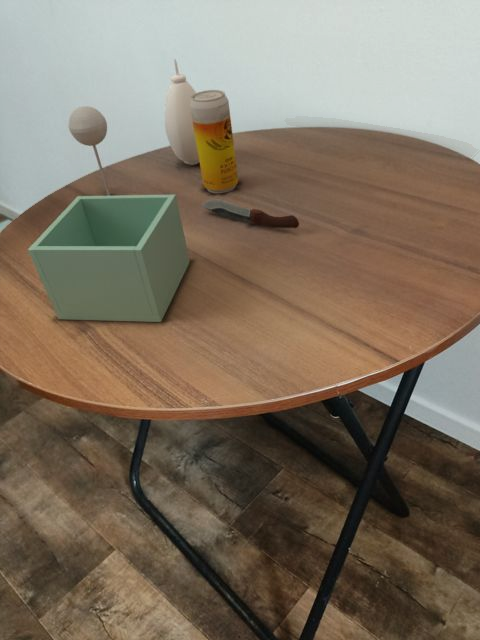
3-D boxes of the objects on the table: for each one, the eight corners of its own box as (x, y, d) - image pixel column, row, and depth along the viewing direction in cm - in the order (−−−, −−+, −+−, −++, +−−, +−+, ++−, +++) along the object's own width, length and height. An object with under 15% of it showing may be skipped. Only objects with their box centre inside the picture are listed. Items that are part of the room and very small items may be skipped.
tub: (58, 319, 65) (27, 249, 59) (99, 261, 75) (77, 195, 69) (161, 322, 63) (140, 249, 56) (190, 261, 73) (175, 194, 66)
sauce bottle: (182, 175, 96) (161, 67, 84) (167, 162, 102) (145, 59, 90) (220, 163, 99) (205, 57, 87) (203, 152, 104) (186, 50, 92)
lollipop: (114, 205, 89) (87, 113, 79) (85, 203, 91) (55, 113, 81) (132, 189, 93) (108, 100, 83) (104, 188, 95) (77, 100, 85)
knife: (198, 213, 84) (195, 195, 82) (204, 209, 85) (201, 191, 83) (296, 238, 75) (294, 219, 73) (301, 233, 76) (300, 214, 74)
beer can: (230, 195, 88) (217, 101, 78) (198, 193, 90) (181, 100, 80) (244, 180, 92) (233, 89, 82) (212, 178, 94) (198, 88, 84)
